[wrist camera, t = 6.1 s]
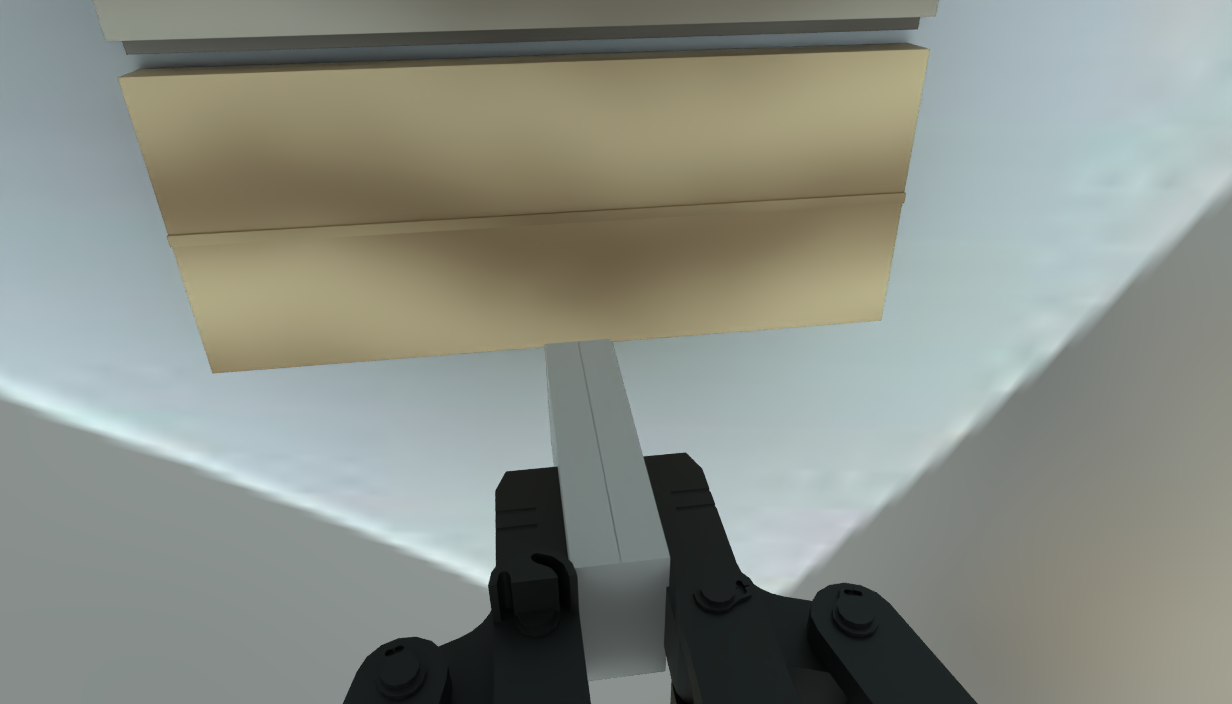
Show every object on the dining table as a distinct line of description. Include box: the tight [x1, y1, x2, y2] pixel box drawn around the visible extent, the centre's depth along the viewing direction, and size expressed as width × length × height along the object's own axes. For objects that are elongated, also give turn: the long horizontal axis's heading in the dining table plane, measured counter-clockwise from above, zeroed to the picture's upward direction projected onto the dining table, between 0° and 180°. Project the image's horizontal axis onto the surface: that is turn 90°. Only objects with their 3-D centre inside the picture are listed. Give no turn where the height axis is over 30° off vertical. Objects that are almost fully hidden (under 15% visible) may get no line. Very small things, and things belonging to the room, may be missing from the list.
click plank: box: [118, 43, 930, 373], centre depth 21 cm, size 8×20×1 cm, turn 91°
